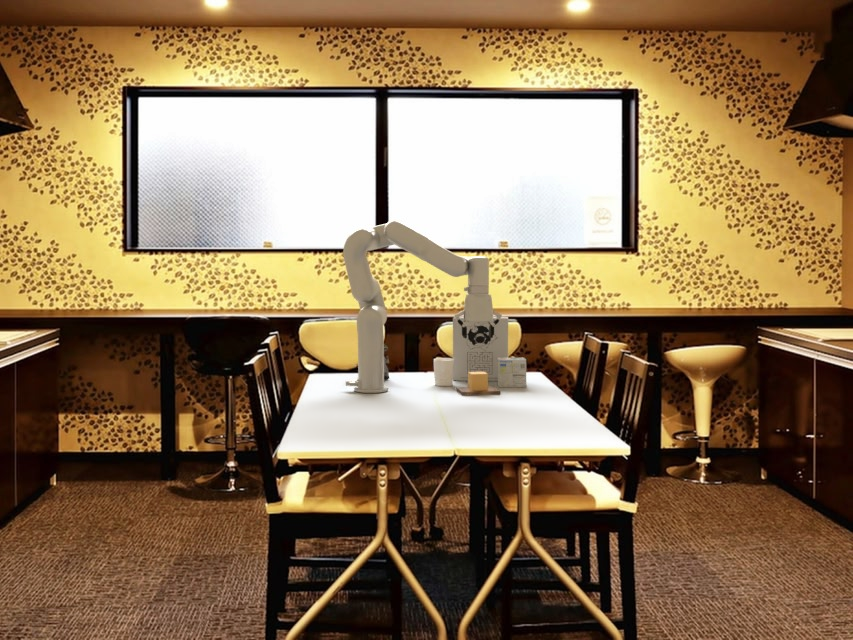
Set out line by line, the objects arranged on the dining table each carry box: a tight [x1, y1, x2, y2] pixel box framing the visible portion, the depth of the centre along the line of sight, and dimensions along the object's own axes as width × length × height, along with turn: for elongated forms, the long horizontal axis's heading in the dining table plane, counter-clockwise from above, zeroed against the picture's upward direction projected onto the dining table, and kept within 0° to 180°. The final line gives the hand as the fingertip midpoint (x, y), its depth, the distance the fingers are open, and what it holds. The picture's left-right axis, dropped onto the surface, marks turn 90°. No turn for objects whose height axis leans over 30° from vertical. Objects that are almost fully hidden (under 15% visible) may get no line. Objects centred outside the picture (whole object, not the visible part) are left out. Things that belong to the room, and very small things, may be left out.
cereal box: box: [452, 315, 509, 382], centre depth 367 cm, size 22×8×25 cm, turn 84°
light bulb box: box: [497, 356, 527, 388], centre depth 351 cm, size 11×7×11 cm, turn 92°
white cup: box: [433, 357, 454, 387], centre depth 354 cm, size 8×8×10 cm
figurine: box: [355, 343, 390, 380], centre depth 367 cm, size 9×12×15 cm
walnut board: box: [455, 385, 501, 396], centre depth 337 cm, size 14×11×1 cm
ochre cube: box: [467, 372, 489, 391], centre depth 336 cm, size 6×6×6 cm
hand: (477, 337), depth 335 cm, fingers open, 9 cm apart
